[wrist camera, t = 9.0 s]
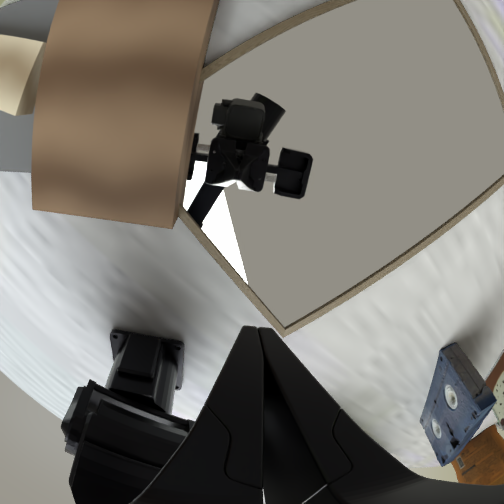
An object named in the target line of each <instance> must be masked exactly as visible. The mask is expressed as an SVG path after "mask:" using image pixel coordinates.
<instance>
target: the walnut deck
mask: <svg viewBox="0 0 504 504" xmlns="http://www.w3.org/2000/svg"><path fill="white" fill-rule="evenodd" d="M219 1H220V0H59V2H58V5H57V8H56V11H55V14H54V18H53V21H52V24H51V28H50V32H49V35H48V39H47V43H46V47H45V52H44V56H43V61H42V66H41V71H40V77H39V83H38V89H37V96H36V104H35V113H34V123H33V136H32V162H31V182H32V208H33V210H39V211H47V212H54V213H62V214H69V215H76V216H84V217H91V218H98V219H105V220H112V221H120V222H127V223H134V224H141V225H148V226H155V227H161V228H168V229H172V228H173V226H174V224H175V222H176V220H177V218H178V211H179V204H180V198H181V190H182V182H183V175H184V168H185V161H186V154H187V148H188V141H189V135H190V129H191V123H192V118H193V112H194V107H195V102H196V96H197V91H198V86H199V79H200V75H201V70H202V69H203V66H204V61H205V57H206V52H207V48H208V44H209V40H210V36H211V32H212V28H213V24H214V20H215V16H216V12H217V9H218V5H219Z"/></svg>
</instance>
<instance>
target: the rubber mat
mask: <svg viewBox="0 0 504 504" xmlns="http://www.w3.org/2000/svg"><path fill="white" fill-rule="evenodd" d="M58 2H59V0H20V1H17V2H15V3H12V4H9V5H7V6H4V7H1V8H0V35H7V36H14V37H20V38H25V39H31V40H36V41H41V42H45V43H47V39H48V35H49V32H50V28H51V24H52V21H53V18H54V14H55V11H56V8H57V5H58ZM34 113H35V107H34V110H33V113H32V114H27V115H19V116H14V115H11V114H9V113H6V112H4V111H1V110H0V171H8V172H29V173H31V162H32V136H33V123H34Z"/></svg>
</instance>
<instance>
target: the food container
mask: <svg viewBox="0 0 504 504" xmlns="http://www.w3.org/2000/svg"><path fill="white" fill-rule="evenodd" d="M484 381H485V382H486V386H488V387H489V388H490V389H491V391H492V392H493V394H494V396H495V397H496V399H497V401H496V403H495V404H494V406H493V408H492V410H493V412H494V414H495V416H496V418H497V420H498V423H496V425H497V426H498V427H499V428H501V429H502V430H504V350H503V351H502V353H501V355H500V356H499V358H498V360H497V361H496V363H495V365H494V366H493V368H492V369H491V371H490V372H489V374H488V375H487V377H486V378H485V380H484Z"/></svg>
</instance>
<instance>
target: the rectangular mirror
mask: <svg viewBox="0 0 504 504" xmlns="http://www.w3.org/2000/svg"><path fill="white" fill-rule="evenodd" d="M502 185H504V93H503V90H502V87H501V85H500V82H499V79H498V77H497V74H496V72H495V69H494V67H493V64H492V62H491V59H490V57H489V55H488V53H487V50H486V48H485V46H484V44H483V42H482V40H481V38H480V36H479V34H478V32H477V30H476V28H475V26H474V24H473V22H472V20H471V19H470V17H469V15H468V13H467V11H466V10H465V8H464V6H463V5H462V3H461V1H460V0H330V1H328V2H325V3H323V4H320V5H318V6H316V7H313V8H311V9H309V10H306V11H304V12H302V13H300V14H298V15H295V16H293V17H291V18H289V19H287V20H285V21H283V22H281V23H279V24H277V25H275V26H273V27H271V28H269V29H267V30H266V31H264V32H262V33H260V34H258V35H256V36H255V37H253V38H251V39H249V40H248V41H246V42H244V43H242V44H241V45H239V46H237V47H236V48H234V49H232V50H231V51H229V52H227V53H226V54H224V55H223V56H221V57H220V58H218V59H216V60H215V61H213V62H212V63H210V64H209V65H207V66H206V67H204V68H203V69H202V70H201V75H200V79H199V86H198V91H197V96H196V102H195V107H194V112H193V118H192V123H191V129H190V135H189V141H188V148H187V154H186V161H185V168H184V175H183V182H182V190H181V198H180V204H179V211H178V217H179V218H180V219H181V220H182V221H183V223H184V224H185V225H186V226H187V227H188V229H189V230H190V231H191V232H192V233H193V235H194V236H195V237H196V238H197V239H198V241H199V242H200V243H201V244H202V245H203V246H204V248H205V249H206V250H207V251H208V252H209V254H210V255H211V256H212V257H213V258H214V259H215V261H216V262H217V263H218V264H219V265H220V266H221V268H222V269H223V270H224V271H225V272H226V273H227V275H228V276H229V277H230V278H231V279H232V280H233V282H234V283H235V284H236V285H237V286H238V287H239V288H240V290H241V291H242V292H243V293H244V294H245V295H246V296H247V298H248V299H249V300H250V301H251V302H252V303H253V304H254V306H255V307H256V308H257V309H258V310H259V311H260V312H261V313H262V315H263V316H264V317H265V318H266V319H267V320H268V321H269V322H270V324H271V325H272V326H273V327H274V328H275V329H276V330H277V331H278V333H279V334H280V335H281V336H282V337H283V338H284V337H285V336H287V335H289V334H291V333H293V332H294V331H296V330H298V329H300V328H302V327H303V326H305V325H307V324H309V323H310V322H312V321H314V320H315V319H317V318H319V317H321V316H322V315H324V314H326V313H327V312H329V311H331V310H332V309H334V308H336V307H337V306H339V305H340V304H342V303H344V302H345V301H347V300H349V299H350V298H352V297H353V296H355V295H356V294H358V293H360V292H361V291H363V290H364V289H366V288H367V287H369V286H370V285H372V284H374V283H375V282H377V281H378V280H380V279H381V278H383V277H384V276H386V275H387V274H389V273H390V272H391V271H393V270H394V269H396V268H397V267H399V266H400V265H402V264H403V263H405V262H406V261H407V260H409V259H410V258H412V257H413V256H414V255H416V254H417V253H419V252H420V251H421V250H423V249H424V248H425V247H427V246H428V245H430V244H431V243H432V242H434V241H435V240H436V239H438V238H439V237H440V236H442V235H443V234H444V233H445V232H447V231H448V230H449V229H451V228H452V227H453V226H455V225H456V224H457V223H458V222H460V221H461V220H462V219H463V218H465V217H466V216H467V215H468V214H470V213H471V212H472V211H473V210H474V209H476V208H477V207H478V206H479V205H480V204H482V203H483V202H484V201H485V200H486V199H488V198H489V197H490V196H491V195H492V194H493V193H494V192H496V191H497V190H498V189H499V188H500V187H501V186H502Z"/></svg>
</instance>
